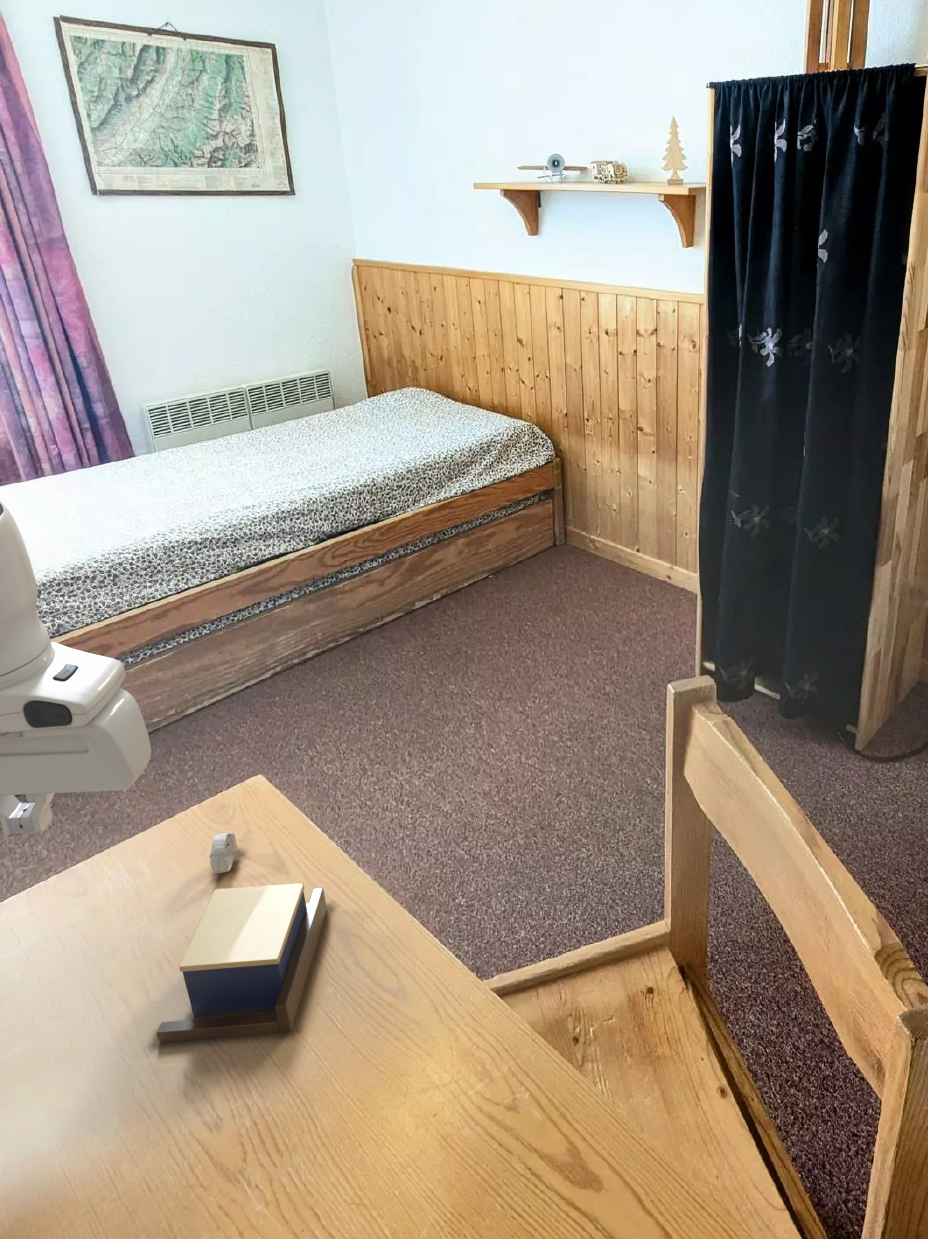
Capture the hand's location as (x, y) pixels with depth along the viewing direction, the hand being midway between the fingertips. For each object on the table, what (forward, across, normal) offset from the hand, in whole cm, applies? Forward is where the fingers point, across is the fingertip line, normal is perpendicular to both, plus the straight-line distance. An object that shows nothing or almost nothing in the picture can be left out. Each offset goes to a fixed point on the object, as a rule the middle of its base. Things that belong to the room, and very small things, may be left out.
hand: (29, 827), depth 69 cm
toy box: (+18, +16, 0) cm, 24 cm away
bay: (+18, +15, 0) cm, 23 cm away
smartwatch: (+18, +9, +13) cm, 24 cm away
